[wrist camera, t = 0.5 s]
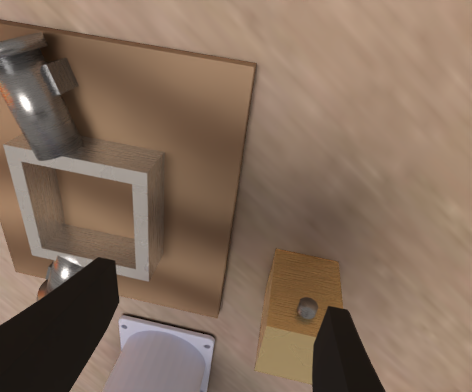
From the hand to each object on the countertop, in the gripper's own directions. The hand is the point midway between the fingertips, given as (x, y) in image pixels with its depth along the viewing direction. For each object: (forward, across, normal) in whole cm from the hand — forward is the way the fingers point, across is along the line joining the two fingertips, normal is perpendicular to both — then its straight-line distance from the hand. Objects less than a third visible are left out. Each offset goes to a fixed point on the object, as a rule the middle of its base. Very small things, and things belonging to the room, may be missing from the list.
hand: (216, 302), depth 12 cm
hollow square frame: (+10, +9, +3) cm, 13 cm away
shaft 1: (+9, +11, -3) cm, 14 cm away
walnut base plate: (+10, +9, +3) cm, 13 cm away
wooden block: (+10, -4, +7) cm, 13 cm away
